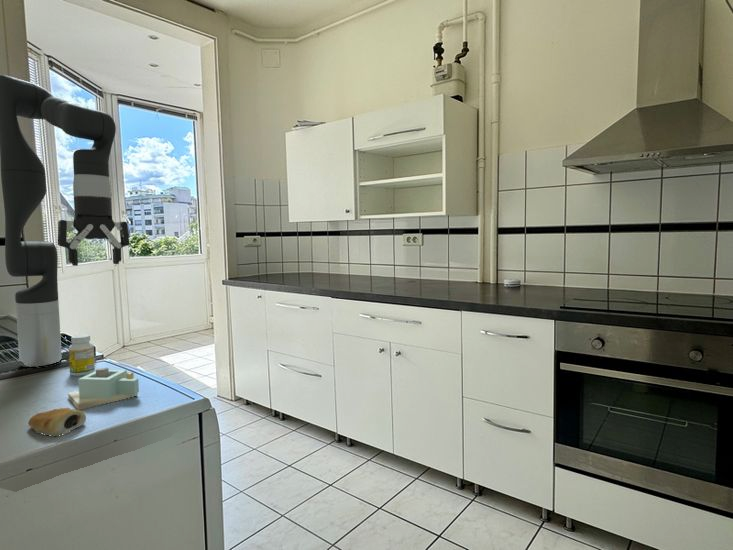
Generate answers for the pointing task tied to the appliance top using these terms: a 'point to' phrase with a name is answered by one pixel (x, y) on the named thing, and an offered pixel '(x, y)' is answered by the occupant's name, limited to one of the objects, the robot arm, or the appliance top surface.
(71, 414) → the pastry
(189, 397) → the appliance top surface
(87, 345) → the supplement bottle
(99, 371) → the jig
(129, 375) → the pin
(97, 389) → the pale green hollow block
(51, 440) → the appliance top surface
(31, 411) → the appliance top surface
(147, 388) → the appliance top surface
